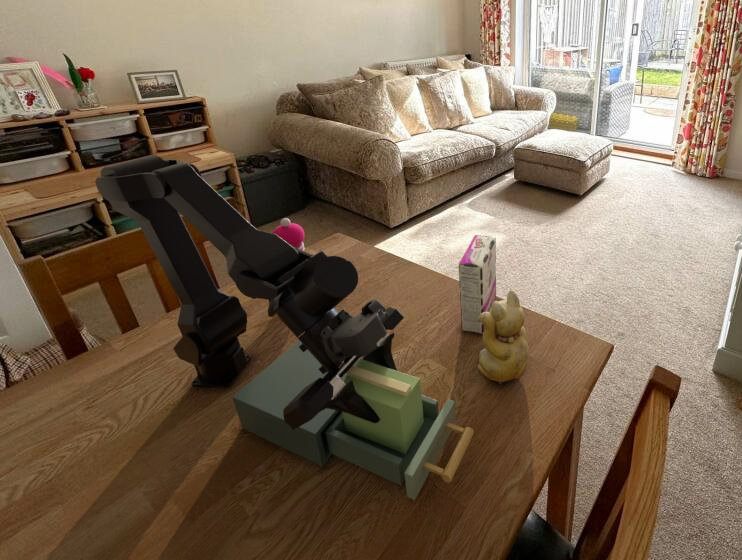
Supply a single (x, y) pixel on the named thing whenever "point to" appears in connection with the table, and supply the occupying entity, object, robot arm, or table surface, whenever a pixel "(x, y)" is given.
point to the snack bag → (386, 405)
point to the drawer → (418, 455)
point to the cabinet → (274, 393)
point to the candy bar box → (477, 281)
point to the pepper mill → (291, 233)
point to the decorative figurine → (504, 340)
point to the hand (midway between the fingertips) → (389, 405)
